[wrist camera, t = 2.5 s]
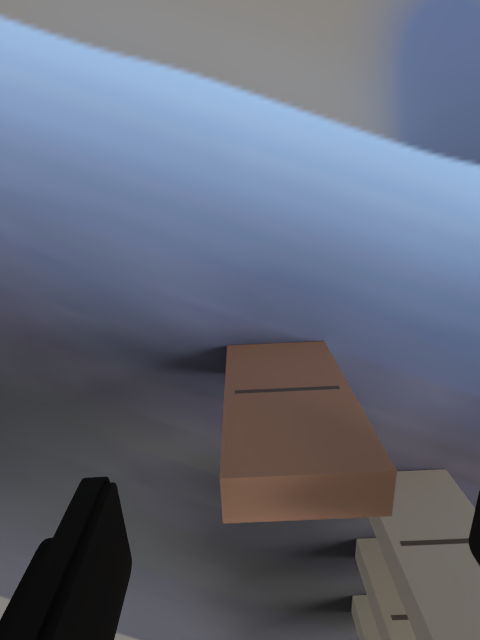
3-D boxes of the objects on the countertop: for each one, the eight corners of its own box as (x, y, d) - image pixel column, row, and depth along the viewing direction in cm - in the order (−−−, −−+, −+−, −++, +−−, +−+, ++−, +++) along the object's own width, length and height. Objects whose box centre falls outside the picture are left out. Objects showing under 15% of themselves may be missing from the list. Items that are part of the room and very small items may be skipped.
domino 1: (322, 370, 19) (391, 516, 11) (228, 374, 19) (223, 523, 11) (323, 341, 19) (397, 471, 10) (227, 345, 19) (219, 478, 10)
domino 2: (431, 554, 24) (541, 761, 15) (354, 557, 24) (421, 765, 15) (434, 535, 23) (550, 738, 15) (356, 538, 23) (426, 743, 15)
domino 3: (441, 491, 22) (570, 684, 14) (359, 495, 22) (436, 690, 14) (445, 469, 21) (582, 655, 13) (361, 472, 21) (442, 661, 13)
